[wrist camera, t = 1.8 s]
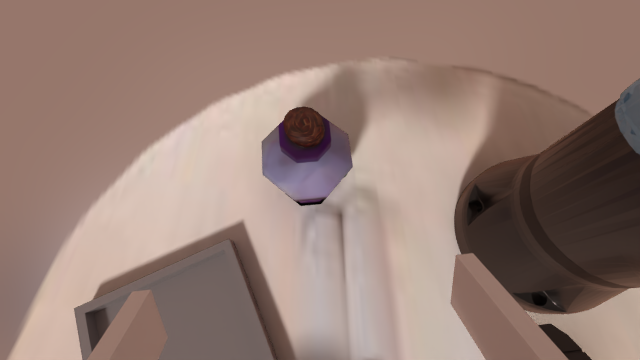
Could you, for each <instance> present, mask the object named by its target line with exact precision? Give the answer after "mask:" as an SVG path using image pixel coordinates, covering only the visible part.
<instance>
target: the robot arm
mask: <svg viewBox="0 0 640 360" xmlns="http://www.w3.org/2000/svg"><path fill="white" fill-rule="evenodd" d="M455 234H456V239H457V243H458V246H459V249H460V252H461V255H456V259H455V268H454V277H453V286H452V295H451V305H452V307H453V308H454V310H455V311H456V313H457V315H458V316H459V318H460V319H461V321H462V322H463V324H464V326H465V327H466V329H467V330H468V332H469V334H470V335H471V337H472V338H473V340H474V341H475V343H476V345H477V346H478V348H479V349H480V351H481V353H482V354H483V356H484V357H485V359H486V360H592V359H591V358H590V357H589V356H588V355H587V354H586V353H585V352H582V349H581V348H580V347H579V346H578V345H577V344H576V343H575V342H574V341H573V340H572V339H571V338H570V337H569V336H568V335H567V334H565V333H564V332H562V331H561V330H559V329H558V328H556V327H555V326H553V325H552V324H544V325H537V324H536V323H535V322H534V321H533V319H532V318H531V317H530V316H529V315H528V314H527V313H526V312H525V311H524V310H526V311H530V312H535V313H542V314H572V313H578V312H582V311H586V310H589V309H592V308H594V307H596V306H598V305H600V304H602V303H603V302H605V301H607V300H609V299H611V298H613V297H614V296H616V295H618V294H620V293H622V292H624V291H625V290H627V289H629V288H639V287H640V79H638V80H636V81H635V82H634V83H633V84H632V85H630V86H629V87H628V88H627V89H626V90H625V91H624V92H623V93H622V94H621V96H620V99H618V100H617V101H615V102H614V103H613V104H611V105H610V106H608V107H607V108H605V109H604V110H602V111H601V112H599V113H598V114H596V115H595V116H593V117H592V118H591V119H589V120H588V121H586V122H585V123H583V124H582V125H580V126H579V127H577V128H576V129H574V130H573V131H572V132H570V133H569V134H567V135H566V136H564V137H563V138H561V139H560V140H558V141H557V142H556V143H554V144H553V145H551V146H550V147H549V148H547V149H546V150H544V151H543V152H541V153H540V154H536V155H532V156H527V157H523V158H518V159H514V160H510V161H505V162H502V163H499V164H497V165H495V166H492V167H491V168H489V169H487V170H486V171H484V172H483V173H482V174H480V175H479V176H478V177H477V178H475V179H474V180H473V181H472V182H471V183H470V184H469V185H468V186H467V187H466V188H465V190H464V191H463V193H462V195H461V196H460V199H459V201H458V204H457V207H456V212H455ZM167 338H168V337H167V334H166V331H165V328H164V326H163V323H162V320H161V317H160V314H159V311H158V308H157V306H156V303H155V300H154V297H153V294H152V291H151V290H142V291H133V292H132V293H131V294H130V296H129V297H128V299H127V300H126V302H125V303H124V305H123V306H122V308H121V309H120V311H119V312H118V314H117V315H116V317H115V318H114V320H113V321H112V323H111V324H110V326H109V327H108V329H107V330H106V332H105V333H104V335H103V336H102V338H101V339H100V341H99V342H98V344H97V345H96V347H95V348H94V350H93V351H92V353H91V354H90V356H89V357H88V359H87V360H158V359H159V357H160V354H161V352H162V350H163V347H164V345H165V343H166V341H167Z"/></svg>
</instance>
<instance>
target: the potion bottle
mask: <svg viewBox="0 0 640 360" xmlns="http://www.w3.org/2000/svg"><path fill="white" fill-rule="evenodd" d="M352 167H353V165H352V158H351V152H350V145H349V138H348V134H347V133H345V132H344V131H342V130H341V129H339V128H338V127H337V126H335V125H334V124H332V123H331V122H329V121H328V120H327V119H325V118H324V117H322V116H321V115H320V114H319V113H318V112H316V111H315V110H314V109H312V108H308V107H297V108H294V109H292V110H290V111H289V112H288V113H287V114H286V116H285V118H284V120H283V121H282V122H281V123H280V124H279V125H278V126H277V127H276V128H275V129H274V130H273V131H272V132H271V133H270V134H269V135H268V136H267V137H266V138H265V139H264V140H263V141H262V169H263V175H264V176H265V177H266V178H267V179H269V180H270V181H271V182H272V183H273V184H275V185H276V186H277V187H278V188H280V189H281V190H282V191H283V192H285V193H286V194H287V195H288V196H289V197H290V198H292V199H293V200H294V201H295V202H297V203H298V204H299V205H300V206H304V205H315V204H321V203H322V202H323V201H324V200H325V199H326V198H327V196H328V195H329V194H330V193H331V192H332V191H333V189H334V188H335V187H336V186H337V185H338V183H339V182H340V181H341V180H342V179H343V178H344V177H345V176H346V175H347V173H348V172H349V171H350V169H351V168H352Z"/></svg>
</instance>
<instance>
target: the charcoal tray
mask: <svg viewBox="0 0 640 360" xmlns="http://www.w3.org/2000/svg"><path fill="white" fill-rule="evenodd" d="M142 290H151V291H152V294H153V297H154V300H155V303H156V306H157V308H158V311H159V314H160V317H161V320H162V323H163V326H164V328H165V331H166V334H167V337H168V338H167V341H166V343H165V345H164V347H163V350H162V352H161V354H160V357H159V359H158V360H277V357H276V354H275V352H274V349H273V346H272V344H271V341H270V338H269V335H268V333H267V330H266V327H265V325H264V322H263V319H262V317H261V314H260V311H259V309H258V306H257V303H256V301H255V298H254V295H253V293H252V290H251V287H250V284H249V282H248V279H247V276H246V274H245V271H244V268H243V266H242V263H241V260H240V258H239V255H238V252H237V250H236V247H235V244H234V242H233V241H232V240H230V239H227V240H225V241H223V242H220V243H218V244H216V245H214V246H212V247H209V248H207V249H205V250H203V251H200V252H198V253H196V254H194V255H192V256H189V257H187V258H185V259H183V260H180V261H178V262H176V263H174V264H172V265H169V266H167V267H165V268H163V269H161V270H158V271H156V272H154V273H152V274H149V275H147V276H145V277H143V278H141V279H138V280H136V281H134V282H132V283H129V284H127V285H125V286H123V287H121V288H118V289H116V290H114V291H112V292H109V293H107V294H105V295H103V296H101V297H98V298H96V299H94V300H92V301H89V302H87V303H85V304H83V305H81V306H78V307H76V308H74V311H75V317H76V323H77V329H78V335H79V341H80V347H81V353H82V359H83V360H87V359H88V357H89V356H90V354H91V353H92V351H93V350H94V348H95V347H96V345H97V344H98V342H99V341H100V339H101V338H102V336H103V335H104V333H105V332H106V330H107V329H108V327H109V326H110V324H111V323H112V321H113V320H114V318H115V317H116V315H117V314H118V312H119V311H120V309H121V308H122V306H123V305H124V303H125V302H126V300H127V299H128V297H129V296H130V294H131V293H132V292H133V291H142Z"/></svg>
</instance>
